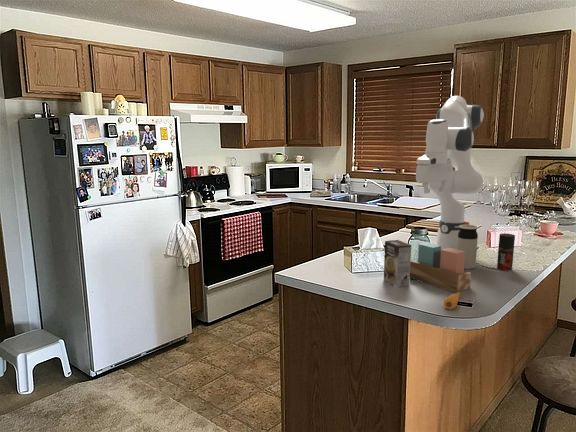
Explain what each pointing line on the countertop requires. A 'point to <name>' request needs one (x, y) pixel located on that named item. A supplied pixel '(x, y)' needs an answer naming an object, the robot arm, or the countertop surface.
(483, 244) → the countertop surface
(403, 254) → the coffee box
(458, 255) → the salmon pink block
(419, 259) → the teal rectangular block
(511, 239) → the deodorant
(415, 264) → the brown wooden box
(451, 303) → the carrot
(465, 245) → the travel mug
